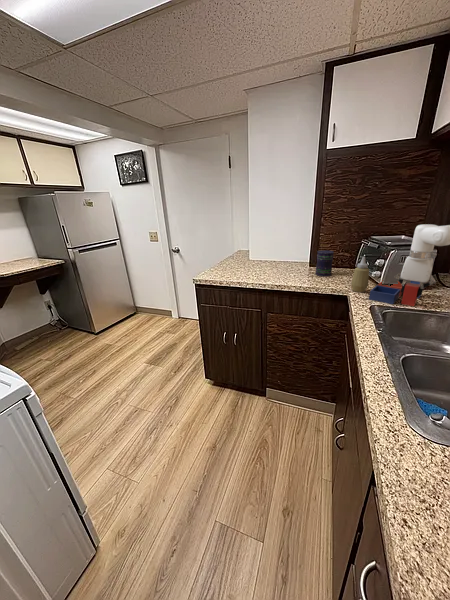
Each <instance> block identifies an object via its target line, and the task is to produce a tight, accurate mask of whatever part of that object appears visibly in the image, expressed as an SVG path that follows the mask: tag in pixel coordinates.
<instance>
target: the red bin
mask: <svg viewBox="0 0 450 600" xmlns="http://www.w3.org/2000/svg"><path fill="white" fill-rule="evenodd" d="M397 282H398V284H393V285H391V286H388V285H382V282H381V281H380V282H379V283H378V284H377V285H378V286H384V287H389V288H395V289H400V294H399V298H400V297H401V296H403V294H402V292H401V288H402V285H401V283H400V282H399V281H397Z"/></svg>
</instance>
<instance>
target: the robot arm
mask: <svg viewBox="0 0 450 600" xmlns="http://www.w3.org/2000/svg"><path fill="white" fill-rule="evenodd" d="M444 246H450V224H446V225H437V224H431V223H430V224H429V223H428V224H426V223H425V224H418V225H416V227H415V229H414V232H413V238H412V242H411V246H410V250H409V255H408V256H406V259H405V260H404V264H403V266H402V269H401V271H400V272H399V273H397V274H396V275H394V278H395V280H397V282H400V283H401V285H402V288H401V292H402V295H403V293H404V289H405V285H406V284H407V283H408V281H410V282H411V281H417V282H420V287H419V289H418V293H417V297H419V296H420V295H421V296H422V295H423V291H424V289H425V288H427V287H430V286H432V285H434V284H436V280H435V278H434V276H433V275H432V272H433V267H434V258H436V257H437V254H438V253H437V252H436V253H435V252H434V248H435V247H444ZM421 296H420V297H421Z"/></svg>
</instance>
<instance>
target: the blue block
mask: <svg viewBox="0 0 450 600" xmlns="http://www.w3.org/2000/svg"><path fill="white" fill-rule="evenodd" d="M409 283H413V284H420V282H417V281H410V282H409ZM421 297H422V295H420V296H419V297H417V299H420V298H421Z"/></svg>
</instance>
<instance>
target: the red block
mask: <svg viewBox="0 0 450 600" xmlns="http://www.w3.org/2000/svg"><path fill="white" fill-rule="evenodd" d="M419 287H420V284H413V283H410V282H407V283H406V285H405V289H404V293H403V294H402V297H401V303H400V304H401V305H404V306H410V307H415V305H416V304H417V301H418V298H417V293H418V289H419Z"/></svg>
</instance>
